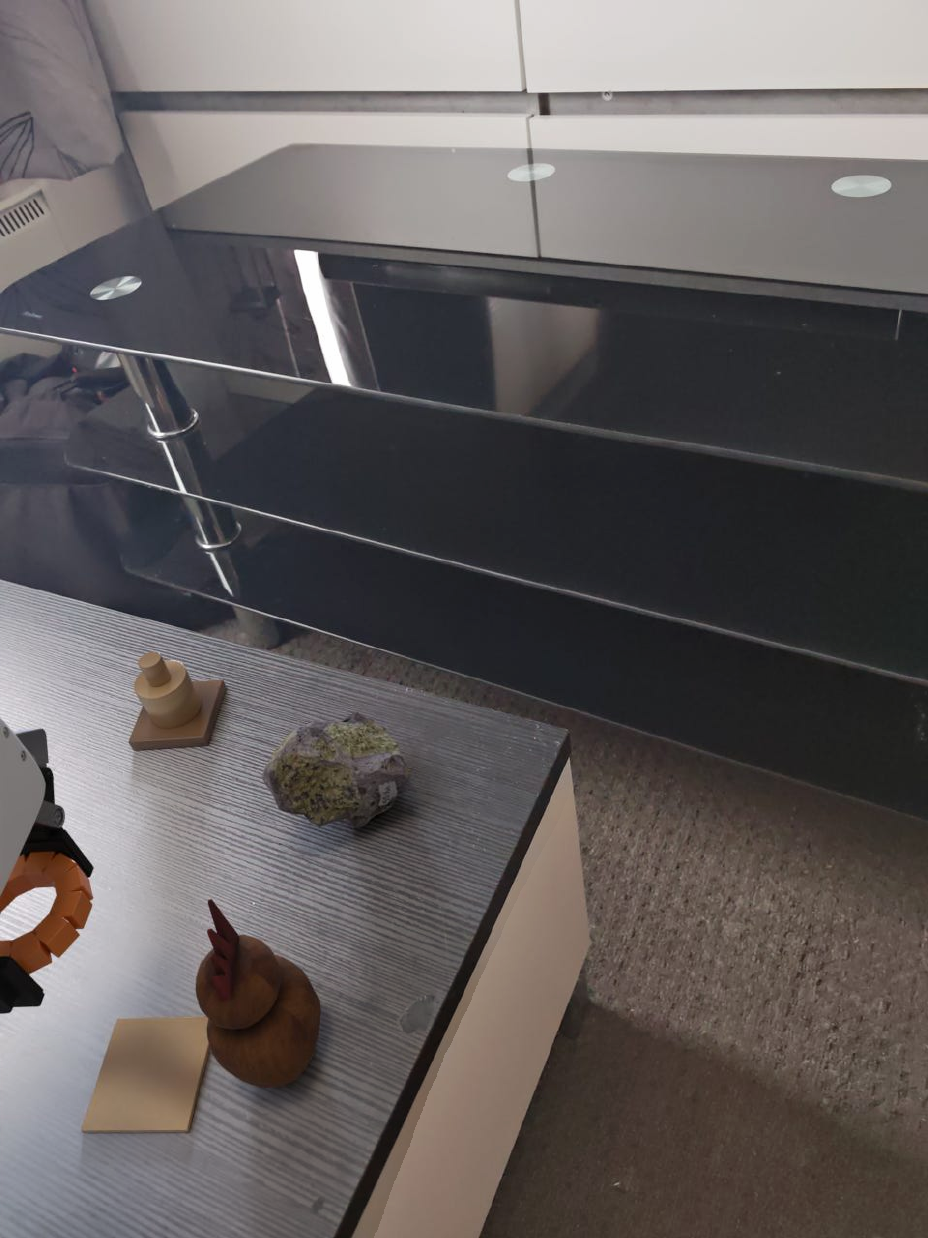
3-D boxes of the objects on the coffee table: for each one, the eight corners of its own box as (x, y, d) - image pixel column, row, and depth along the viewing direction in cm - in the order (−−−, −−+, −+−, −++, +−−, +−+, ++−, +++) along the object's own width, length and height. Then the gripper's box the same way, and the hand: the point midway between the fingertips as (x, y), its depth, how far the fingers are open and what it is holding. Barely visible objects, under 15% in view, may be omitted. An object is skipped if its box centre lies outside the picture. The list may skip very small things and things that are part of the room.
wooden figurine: (267, 990, 62) (189, 868, 52) (344, 1008, 60) (278, 886, 50) (221, 1092, 58) (126, 980, 48) (302, 1116, 56) (221, 1004, 46)
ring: (-55, 982, 47) (-70, 968, 46) (-1, 868, 51) (-14, 854, 50) (66, 977, 46) (53, 964, 45) (109, 862, 51) (99, 848, 50)
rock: (373, 886, 67) (340, 805, 60) (269, 845, 71) (227, 765, 64) (441, 775, 73) (418, 691, 67) (342, 744, 78) (311, 661, 71)
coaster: (189, 1132, 56) (187, 1130, 56) (83, 1133, 57) (80, 1130, 57) (217, 1018, 61) (215, 1016, 61) (119, 1021, 62) (116, 1018, 62)
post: (208, 746, 80) (176, 686, 75) (133, 750, 81) (96, 692, 76) (227, 687, 85) (199, 627, 80) (156, 692, 86) (124, 634, 81)
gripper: (-128, 587, 45) (40, 807, 56) (-385, 911, 32) (-98, 1107, 44) (14, 573, 44) (155, 800, 56) (-192, 901, 31) (48, 1105, 43)
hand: (42, 934), depth 49 cm, fingers closed on ring, 6 cm apart
